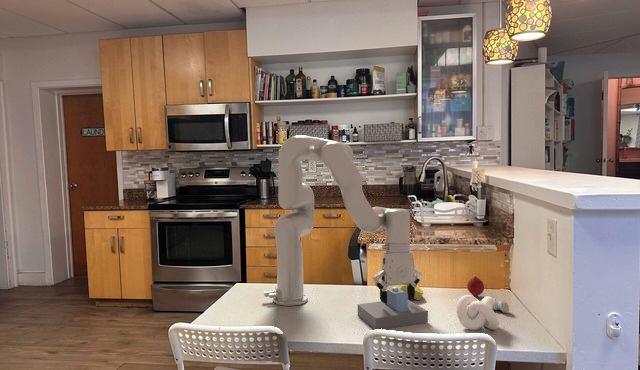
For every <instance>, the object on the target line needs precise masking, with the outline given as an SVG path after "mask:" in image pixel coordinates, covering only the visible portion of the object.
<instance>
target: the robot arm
mask: <svg viewBox="0 0 640 370" xmlns="http://www.w3.org/2000/svg"><path fill="white" fill-rule="evenodd" d="M353 160H354V151H353V149H352V147H351V146H350V145H349V144H347V143H345V142H341V141H340V142H339V141H334V140H330V139H324V138H320V137H315V136H308V135H302V134H301V135H294V136H291V137H289V138H288V139H286V140H285V141H284V142H283V143H282V144H281V146H280V148H279V150H278V204H279V206H280V207H281V208H282V209H284V210H286V211H291V212H290V213H286V214H283V215H281V216H279V217H278V218H277V219H276V221H275V222H274V226H273V232H274V237H275V244H276V275H277V276H276V284H277V286H275V288H274V289H273V290H270V291H269V290H267V291H266V290H265V291H264V292H263V293H264V294H263V295H264V297H265V298H267V297H268V298H269V299H272V302H273V303H274V304H276V305H279V306H282V307H283V306H286V307H290V306H291V307H292V306H293V307H294V306H300V305H303V304H305V303H307V302H308V300H309V299H308V298H309V296H308V295H307V294H306V293H304V249H303V244H302V241H301V238H303V237H306V236H308V235H309V234H311V232H312V231H313V230H314V225H315V194H314V191H313V189H312V188H311V186H310V185H308V184H307V183H304V182H303V177H304V176H303V168H302V164H301V161H315V162H320V163H324V166H325V167H326V169H327V170H328V172H329V173H330V175H331V176H332V178H333V179H334V181H335V183H336V185H337V186H338V188H339V189H340V192H341V193H340V194H341V197H342V200H343V204H344V207H345V209H346V211H347V212H348V215H349V216H350V218H351V219H352V221H353V222H354V224H355V225H356V227H357V228H359V230H361V231H362V232H364V233H367V234H369V233H370V234H371V233H374V232H377V231H379V230H385V242H384V244H383V245H382V246H381V249H383V250H385V251H383V255H382V260H381V268H380V269H381V271H378V273H376V274H374V275H373V276H372V277H371V279H372V282H374V285H375V287H377V288H378V290H379V299H380V301H381V302H383V303H384V304H387V291H386V289H387V287H388V286H389V285H391V286H392V285H402V284H409V285H408V286H407V293H408V300H410V301H415V299H414V296H415V288H416V286H417V285H418V284H419V283H420V281H421V280H420V279H421V278H422V276H423V273H422V272H421V271H419V270H417V269H416V267H415V261H414V260H415V259H414V255H413V252H412V250H411V249H410V248H411V247H410V245H411V244H410V243H411V242H410V240H411V239H410V238H411V234H410V233H411V231H410V230H411V227H410V226H411V225H410V224H411V222H410V221H411V214H410V211H409V210H408V209H405V208H387V207H381V206H374V207H372V206H371V204H370V203H369V201H368V199H367V197H366V195H365V194H364V191H363V181H364V179H363V175H362V173H361V171H360V170H359V168H358V167H357V166H356V164H355V163H354V161H353ZM379 280H381V282H380V281H379Z"/></svg>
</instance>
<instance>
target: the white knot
mask: <svg viewBox="0 0 640 370" xmlns="http://www.w3.org/2000/svg"><path fill="white" fill-rule="evenodd" d="M492 298H493V297H491V296H490V295H487V296H485V297H483V298H482V299H481V300H479V299H478V298H476V297H474V296H473V295H472V294H465V295H462V296H461V297H459V299H458V301H457V303H456V309H455V310H456V314H457V317H458V320H459V323H460V324H461V325H462V326H463V327H464V328H465V329H467V330H469V329H470V330H469V331H477V330H480V329H482V327H484V326H485V328H487V329H488V330H490V331H491V330H493V331H494V330H497V329H498V328H499V325H500V321H499V318H498V315H497V314H496V312H495V310H492V307H493V304H494V300H493V299H492Z"/></svg>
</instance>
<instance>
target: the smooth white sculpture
mask: <svg viewBox="0 0 640 370" xmlns="http://www.w3.org/2000/svg"><path fill="white" fill-rule="evenodd" d="M491 298H492V299H493V300H494V304H493V307H492V310H493V311H499V310H500V311H501V312H502V313H503V314H507V313H509V311H510V306H509V303H508V302H507V301H506V300H502V301H501V300H499V299H498V298H495V297H491Z"/></svg>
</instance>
